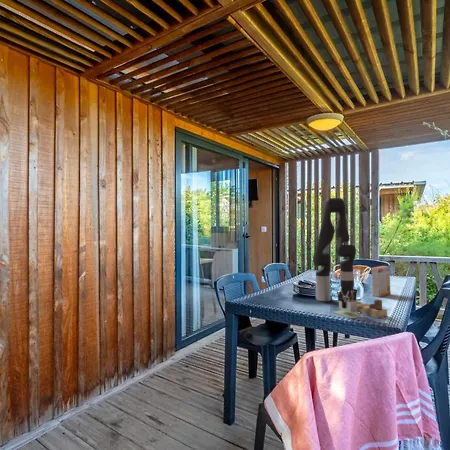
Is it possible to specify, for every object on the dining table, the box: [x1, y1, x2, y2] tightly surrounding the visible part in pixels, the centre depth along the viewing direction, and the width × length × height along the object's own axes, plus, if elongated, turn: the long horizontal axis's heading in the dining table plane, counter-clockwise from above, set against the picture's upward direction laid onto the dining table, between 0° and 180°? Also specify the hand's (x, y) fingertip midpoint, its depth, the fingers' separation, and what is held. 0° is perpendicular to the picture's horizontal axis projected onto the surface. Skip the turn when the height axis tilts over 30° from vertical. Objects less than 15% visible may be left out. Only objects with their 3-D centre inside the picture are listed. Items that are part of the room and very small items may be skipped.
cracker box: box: [371, 265, 392, 298], centre depth 229 cm, size 14×6×21 cm, turn 121°
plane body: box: [348, 295, 388, 319], centre depth 188 cm, size 24×8×11 cm, turn 24°
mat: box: [333, 309, 364, 319], centre depth 184 cm, size 14×9×1 cm, turn 24°
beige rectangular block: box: [338, 297, 358, 313], centre depth 184 cm, size 9×5×7 cm, turn 24°
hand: (347, 307), depth 184 cm, fingers closed on beige rectangular block, 5 cm apart
